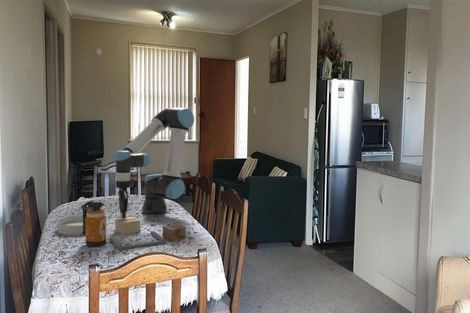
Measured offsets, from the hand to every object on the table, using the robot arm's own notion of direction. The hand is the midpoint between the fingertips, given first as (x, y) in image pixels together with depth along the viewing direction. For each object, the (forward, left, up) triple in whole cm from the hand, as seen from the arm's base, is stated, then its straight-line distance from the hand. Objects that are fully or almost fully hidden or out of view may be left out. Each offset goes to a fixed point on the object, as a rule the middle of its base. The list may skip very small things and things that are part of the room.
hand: (123, 223), depth 214 cm
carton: (0, +8, -2) cm, 9 cm away
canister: (+19, +22, -2) cm, 29 cm away
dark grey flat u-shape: (0, +27, -2) cm, 27 cm away
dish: (+21, -6, -2) cm, 22 cm away
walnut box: (-17, +30, -2) cm, 35 cm away
